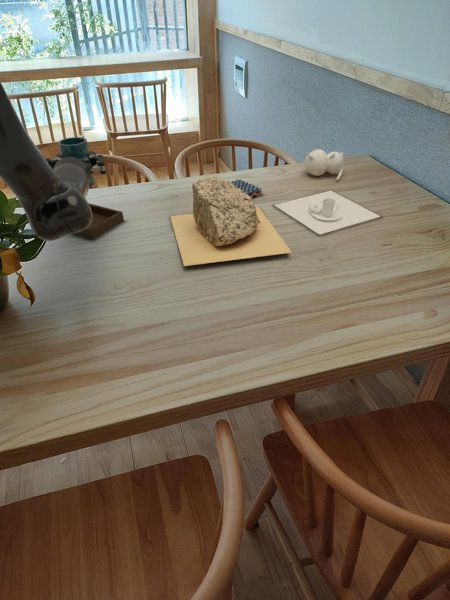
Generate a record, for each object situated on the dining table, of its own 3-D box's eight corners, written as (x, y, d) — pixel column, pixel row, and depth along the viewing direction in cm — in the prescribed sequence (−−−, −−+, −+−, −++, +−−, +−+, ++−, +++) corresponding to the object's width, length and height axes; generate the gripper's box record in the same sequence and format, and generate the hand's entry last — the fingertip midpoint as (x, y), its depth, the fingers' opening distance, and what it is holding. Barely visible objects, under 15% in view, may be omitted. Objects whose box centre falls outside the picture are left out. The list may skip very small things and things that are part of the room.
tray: (52, 227, 114) (50, 218, 112) (85, 210, 122) (83, 201, 120) (92, 239, 108) (90, 230, 107) (124, 220, 116) (122, 211, 115)
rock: (167, 215, 118) (195, 158, 111) (236, 244, 127) (266, 193, 120) (181, 265, 95) (216, 197, 89) (264, 296, 104) (302, 236, 97)
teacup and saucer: (303, 211, 119) (304, 197, 117) (327, 205, 122) (329, 191, 120) (324, 224, 113) (326, 209, 110) (348, 217, 116) (351, 203, 113)
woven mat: (236, 204, 123) (236, 197, 122) (212, 193, 130) (212, 186, 129) (264, 194, 129) (264, 188, 127) (240, 184, 135) (240, 177, 134)
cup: (62, 186, 105) (52, 143, 99) (81, 177, 109) (72, 135, 103) (81, 191, 102) (72, 147, 96) (100, 182, 107) (92, 139, 101)
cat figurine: (345, 142, 136) (306, 142, 135) (351, 171, 133) (312, 171, 131) (336, 161, 145) (300, 161, 143) (342, 188, 141) (305, 189, 140)
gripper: (102, 160, 90) (105, 137, 103) (28, 166, 88) (40, 141, 101) (109, 196, 94) (111, 169, 107) (38, 202, 92) (48, 173, 105)
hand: (76, 155), depth 104 cm, fingers closed on cup, 6 cm apart
